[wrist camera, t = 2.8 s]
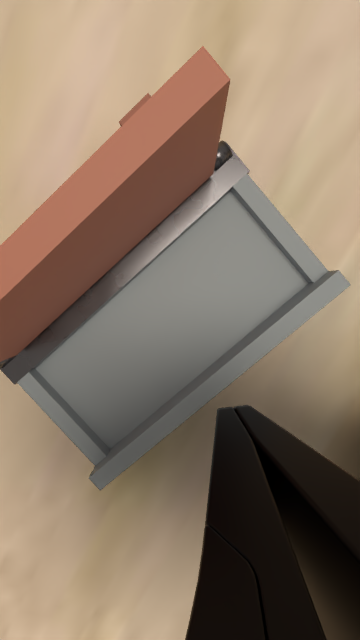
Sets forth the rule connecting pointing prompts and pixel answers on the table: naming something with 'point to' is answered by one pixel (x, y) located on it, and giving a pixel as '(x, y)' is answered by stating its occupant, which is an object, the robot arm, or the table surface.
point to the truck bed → (182, 331)
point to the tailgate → (112, 200)
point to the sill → (130, 264)
